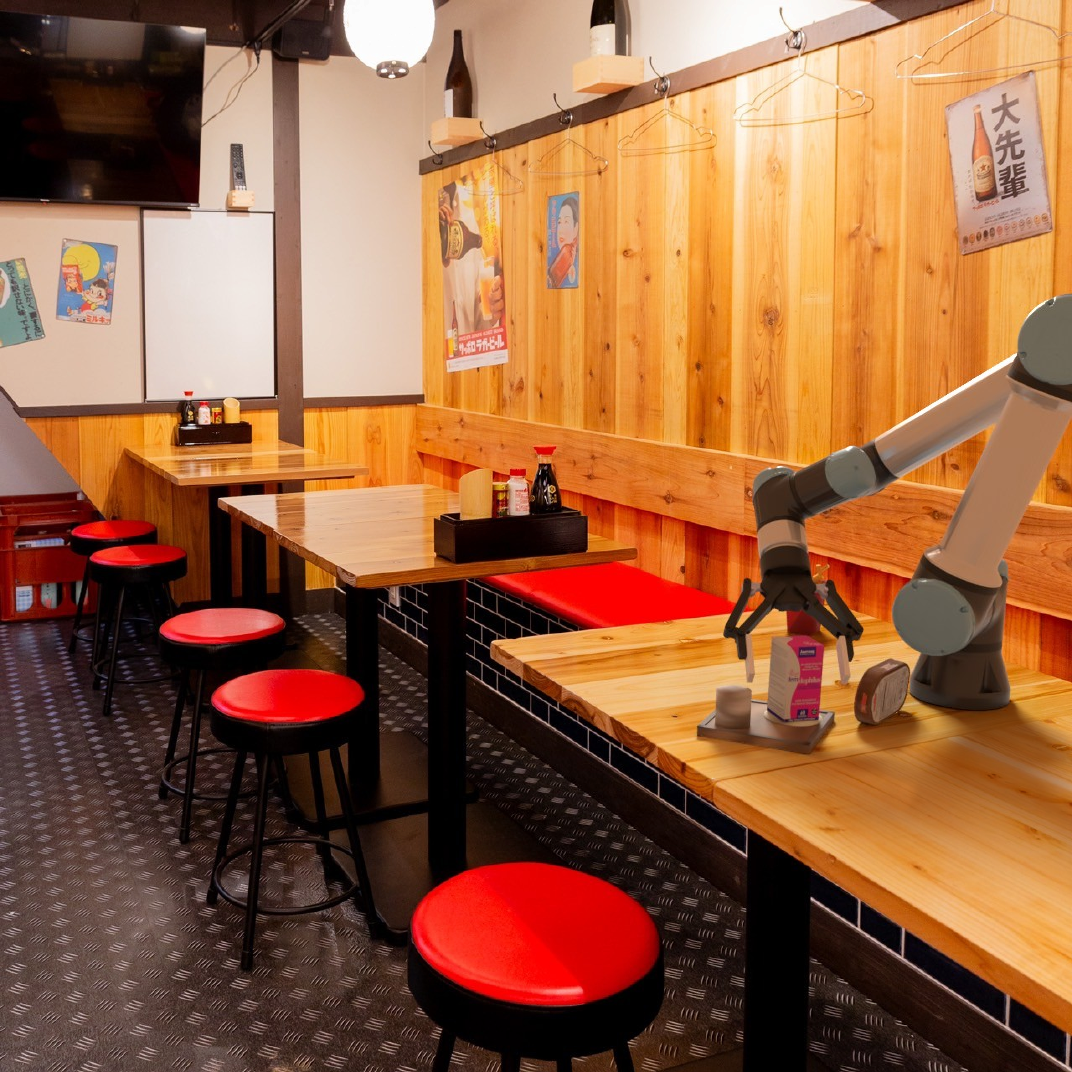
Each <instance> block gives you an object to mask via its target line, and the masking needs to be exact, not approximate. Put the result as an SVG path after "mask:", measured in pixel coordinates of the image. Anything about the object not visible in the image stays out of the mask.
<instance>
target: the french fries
mask: <svg viewBox="0 0 1072 1072" xmlns="http://www.w3.org/2000/svg"><path fill="white" fill-rule="evenodd" d="M827 569H830V564H827V563H826V564H825V565H823V566H821V564H816V565H815V571H816V572H815V573H814V575H812V579H813V581H814V583H815V584H823V583H826V581H827V580H824V579H825V577H824V575H822V573H823V572H824V571H826V570H827ZM814 596H815V597H817V598H818V600H819V602H820V603H821V604H822V605H823V606H824V607H825V602H826V600H825V599H822V597H821V595H820V594H819V593H815V594H814ZM808 604H809V603H808ZM785 612H786V613H785V614H786V629H787V630H786V631H787V633H792V634H798V635H807V636H809V637H810V636H814V635H815V634H816V633H818V632H821V627H822V625H821V624H820V623H819V622H818V621H817V620H816V619H814V618H813V617H812V616H809V615H808V614H806V613H805V612H804V611H803V610H800V611H799V612H793V611H785Z"/></svg>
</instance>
